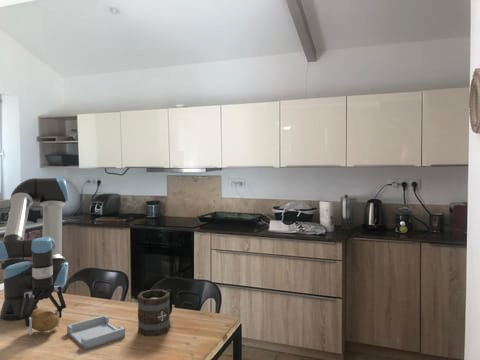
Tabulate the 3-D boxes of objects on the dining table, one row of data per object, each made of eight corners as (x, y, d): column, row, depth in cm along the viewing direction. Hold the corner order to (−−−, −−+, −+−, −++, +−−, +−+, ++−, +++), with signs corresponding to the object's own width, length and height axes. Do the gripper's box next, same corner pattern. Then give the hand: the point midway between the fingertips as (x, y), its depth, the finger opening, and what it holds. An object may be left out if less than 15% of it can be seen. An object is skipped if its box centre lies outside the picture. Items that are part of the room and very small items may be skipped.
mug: (158, 339, 155) (157, 302, 154) (130, 333, 160) (130, 297, 160) (184, 320, 173) (184, 287, 172) (158, 316, 178) (158, 283, 178)
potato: (44, 339, 153) (44, 319, 153) (22, 331, 160) (21, 312, 159) (66, 329, 162) (65, 310, 161) (44, 322, 168) (43, 304, 168)
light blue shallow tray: (67, 333, 160) (67, 325, 160) (105, 322, 171) (105, 314, 171) (85, 349, 146) (84, 340, 146) (125, 336, 157) (125, 328, 157)
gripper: (14, 284, 149) (16, 341, 150) (74, 272, 164) (75, 324, 165) (9, 279, 154) (11, 334, 156) (67, 268, 169) (68, 319, 171)
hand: (44, 329), depth 161 cm, fingers closed on potato, 10 cm apart
